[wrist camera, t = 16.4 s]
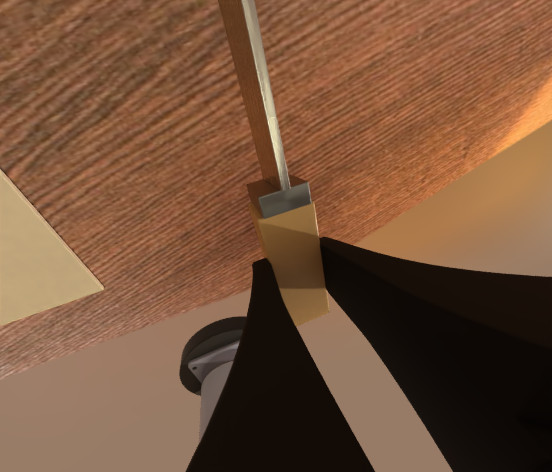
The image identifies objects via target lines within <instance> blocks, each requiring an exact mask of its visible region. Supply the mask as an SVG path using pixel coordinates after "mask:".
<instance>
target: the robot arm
mask: <svg viewBox="0 0 552 472" xmlns="http://www.w3.org/2000/svg"><path fill="white" fill-rule="evenodd" d="M319 240H320V251H321V258H322V265H323V272H324V279H325V286H326V289H327V291H328V293H329V294H330V295H331V296H332V297H333V298H334V300H335V301H336V302H337V303H338V305H339V306H340V307H341V308H342V309H343V311H344V312H345V313H346V314H347V315H348V317H349V318H350V319H351V320H352V321H353V323H354V324H355V325H356V326H357V327H358V329H359V330H360V331H361V332H362V333H363V335H364V336H365V337H366V339H367V340H368V341H369V342H370V344H371V345H372V347H373V348H374V350H375V351H376V352H377V354H378V355H379V357H380V358H381V359H382V361H383V362H384V364H385V365H386V367H387V368H388V370H389V371H390V373H391V374H392V376H393V377H394V379H395V380H396V382H397V383H398V385H399V386H400V388H401V389H402V391H403V392H404V394H405V395H406V397H407V399H408V400H409V402H410V403H411V405H412V406H413V408H414V410H415V411H416V412H417V414H418V416H419V417H420V419H421V420H422V422H423V424H424V425H425V427H426V428H427V430H428V431H429V433H430V435H431V436H432V438H433V440H434V441H435V443H436V445H437V446H438V448H439V449H440V451H441V453H442V454H443V456H444V458H445V459H446V461H447V462H448V464H449V465H450V467H451V469H452V471H453V472H552V277H542V276H541V277H540V276H528V275H514V274H502V273H491V272H482V271H473V270H465V269H457V268H449V267H443V266H436V265H430V264H425V263H420V262H415V261H409V260H405V259H400V258H396V257H392V256H388V255H384V254H380V253H377V252H373V251H370V250H366V249H363V248H360V247H356V246H353V245H350V244H347V243H344V242H341V241H338V240H334V239H331V238H327V237H322V238H319ZM252 267H253V281H252V290H251V298H250V303H249V308H248V313H247V317H246V322H245V326H244V329H243V333H242V336H241V339H240V340H238V341H235V342H233V343H231V344H228V345H226V346H224V347H221V348H219V349H217V350H214V351H212V352H210V353H207V354H205V355H202V356H200V357H198V358H195V359H193V360H191V361H189V363H188V368H189V369H190V370H191V371H192V372H193V374H194V375H195V376H196V377H197V379H198V380H199V381H200V382H201V383H202V386H201V408H200V432H199V445H198V447H197V449H196V451H195V453H194V455H193V457H192V459H191V461H190V463H189V465H188V468H187V470H186V472H375V471H374V469H373V467H372V465H371V464H370V462H369V460H368V458H367V457H366V455H365V453H364V451H363V449H362V448H361V446H360V444H359V442H358V441H357V439H356V437H355V435H354V434H353V432H352V430H351V428H350V426H349V425H348V423H347V421H346V419H345V417H344V416H343V414H342V412H341V410H340V408H339V406H338V405H337V403H336V401H335V399H334V397H333V396H332V394H331V392H330V390H329V388H328V387H327V385H326V383H325V381H324V379H323V377H322V375H321V374H320V372H319V370H318V368H317V366H316V364H315V362H314V360H313V358H312V357H311V355H310V353H309V351H308V349H307V347H306V345H305V343H304V341H303V339H302V337H301V336H300V334H299V332H298V330H297V328H296V326H295V324H294V322H293V320H292V318H291V316H290V314H289V312H288V310H287V308H286V306H285V303H284V301H283V298H282V295H281V292H280V289H279V286H278V283H277V280H276V277H275V274H274V271H273V268H272V265H271V263H270V262H269V261H268V259H267V258H264V259H261V260H258V261H256V262H254V263H253V264H252Z"/></svg>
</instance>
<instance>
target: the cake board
mask: <svg viewBox="0 0 552 472" xmlns="http://www.w3.org/2000/svg"><path fill="white" fill-rule="evenodd" d="M102 290H104V286H103V285H102V284H101V283H100V282H99V281H98V280H97V278H96V277H95V276H94V275H93V274H92V273H91V272H90V270H89V269H88V268H87V267H86V266H85V265H84V264H83V262H82V261H81V260H80V259H79V258H78V257H77V256H76V254H75V253H74V252H73V251H72V250H71V249H70V248H69V246H68V245H67V244H66V243H65V242H64V241H63V240H62V239H61V237H60V236H59V235H58V234H57V233H56V232H55V231H54V229H53V228H52V227H51V226H50V225H49V224H48V223H47V221H46V220H45V219H44V218H43V217H42V216H41V215H40V213H39V212H38V211H37V210H36V209H35V208H34V207H33V205H32V204H31V203H30V202H29V201H28V200H27V199H26V197H25V196H24V195H23V194H22V193H21V192H20V191H19V189H18V188H17V187H16V186H15V185H14V184H13V183H12V182H11V180H10V179H9V178H8V177H7V176H6V175H5V174H4V172H3V171H2V170H1V169H0V326H2V325H4V324H7V323H10V322H13V321H16V320H19V319H22V318H24V317H27V316H30V315H33V314H36V313H39V312H42V311H45V310H47V309H50V308H53V307H56V306H59V305H62V304H65V303H67V302H70V301H73V300H76V299H79V298H82V297H85V296H87V295H90V294H93V293H96V292H99V291H102Z"/></svg>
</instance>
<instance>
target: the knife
mask: <svg viewBox="0 0 552 472" xmlns="http://www.w3.org/2000/svg"><path fill="white" fill-rule="evenodd" d="M218 3H219V7H220V11H221V14H222V18H223V22H224V26H225V30H226V34H227V38H228V42H229V46H230V50H231V54H232V58H233V62H234V66H235V69H236V73H237V77H238V81H239V85H240V89H241V93H242V97H243V101H244V105H245V109H246V113H247V117H248V121H249V124H250V128H251V132H252V136H253V140H254V144H255V148H256V152H257V156H258V160H259V164H260V168H261V172H262V176H263V180H260V181H256V182H253V183H250V184H247V188H248V192H249V195H250V198H251V201H252V203H249V204H248V207H249V211H250V214H251V217H252V220H253V223H254V227H255V230H256V233H257V236H258V239H259V243H260V246H261V249H262V252H263V255H264V258H267V259H268V261H269V262H270V263H271V265H272V268H273V271H274V274H275V277H276V280H277V283H278V286H279V289H280V292H281V295H282V298H283V301H284V303H285V306H286V308H287V310H288V312H289V314H290V316H291V318H292V320H293V322H294V324H295V326H296V327H297V326H299V325H301V324H303V323H306V322H308V321H310V320H313V319H315V318H317V317H320V316H322V315H324V314H327V313H329V304H328V297H327V290H326V286H325V279H324V272H323V265H322V258H321V251H320V240H319V233H318V226H317V218H316V211H315V204H314V201H312V200H311V195H310V188H309V182H308V181H305V180H302V179H300V178H297V177H295V176H292V175H289V174H288V172H287V166H286V161H285V156H284V151H283V146H282V141H281V135H280V130H279V125H278V120H277V115H276V109H275V104H274V99H273V94H272V89H271V84H270V78H269V73H268V68H267V63H266V58H265V52H264V47H263V42H262V37H261V32H260V27H259V21H258V16H257V11H256V6H255V1H254V0H218Z"/></svg>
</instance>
